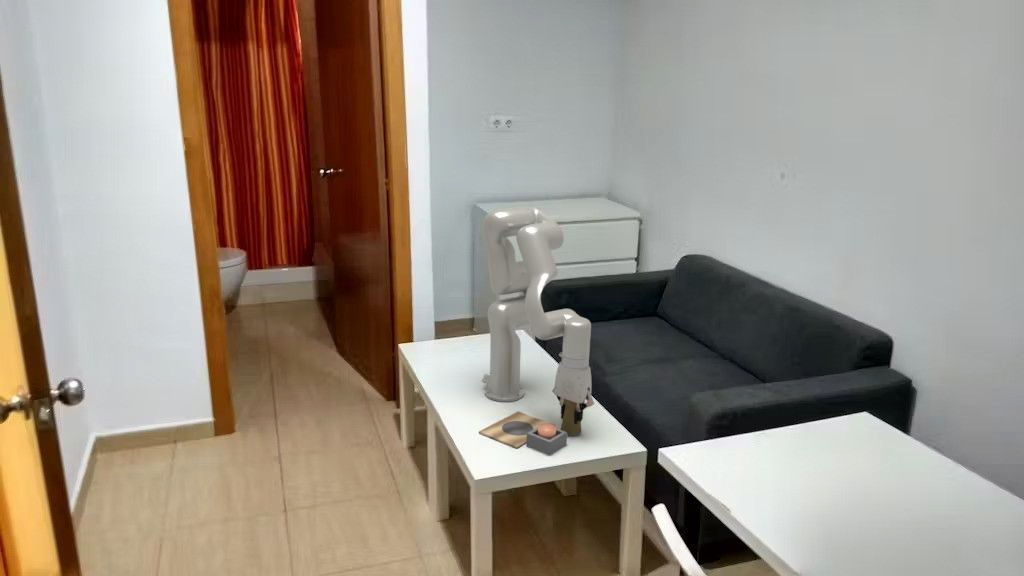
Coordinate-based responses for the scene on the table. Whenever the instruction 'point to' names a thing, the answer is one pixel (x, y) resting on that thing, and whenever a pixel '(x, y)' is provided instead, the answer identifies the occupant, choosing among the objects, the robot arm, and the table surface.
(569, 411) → the pepper shaker
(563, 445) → the button housing
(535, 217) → the robot arm
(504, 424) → the wooden board
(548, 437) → the button
